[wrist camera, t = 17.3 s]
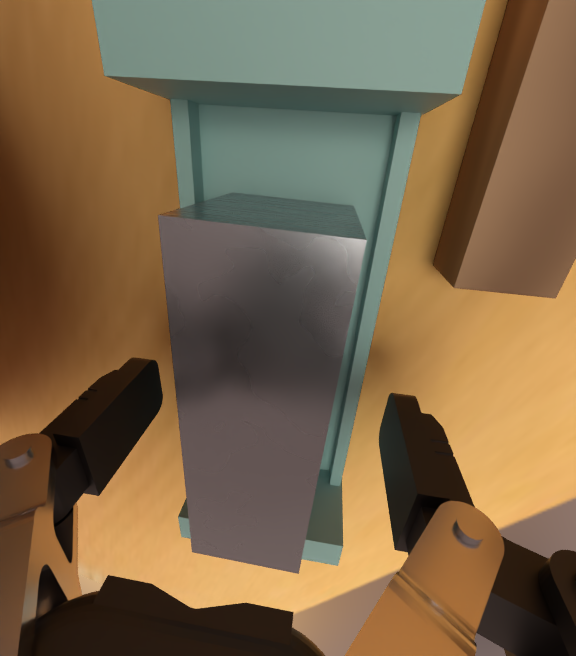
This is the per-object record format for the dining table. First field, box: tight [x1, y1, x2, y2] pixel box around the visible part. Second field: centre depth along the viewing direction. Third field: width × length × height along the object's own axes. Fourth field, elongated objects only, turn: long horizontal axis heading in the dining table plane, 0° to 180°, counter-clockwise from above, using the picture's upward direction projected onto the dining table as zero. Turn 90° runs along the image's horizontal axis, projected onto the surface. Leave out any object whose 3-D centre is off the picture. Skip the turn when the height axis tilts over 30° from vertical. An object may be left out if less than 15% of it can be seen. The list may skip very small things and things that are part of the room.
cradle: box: [92, 0, 486, 566], centre depth 12 cm, size 7×18×5 cm, turn 177°
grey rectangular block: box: [158, 192, 367, 574], centre depth 11 cm, size 4×12×5 cm, turn 175°
